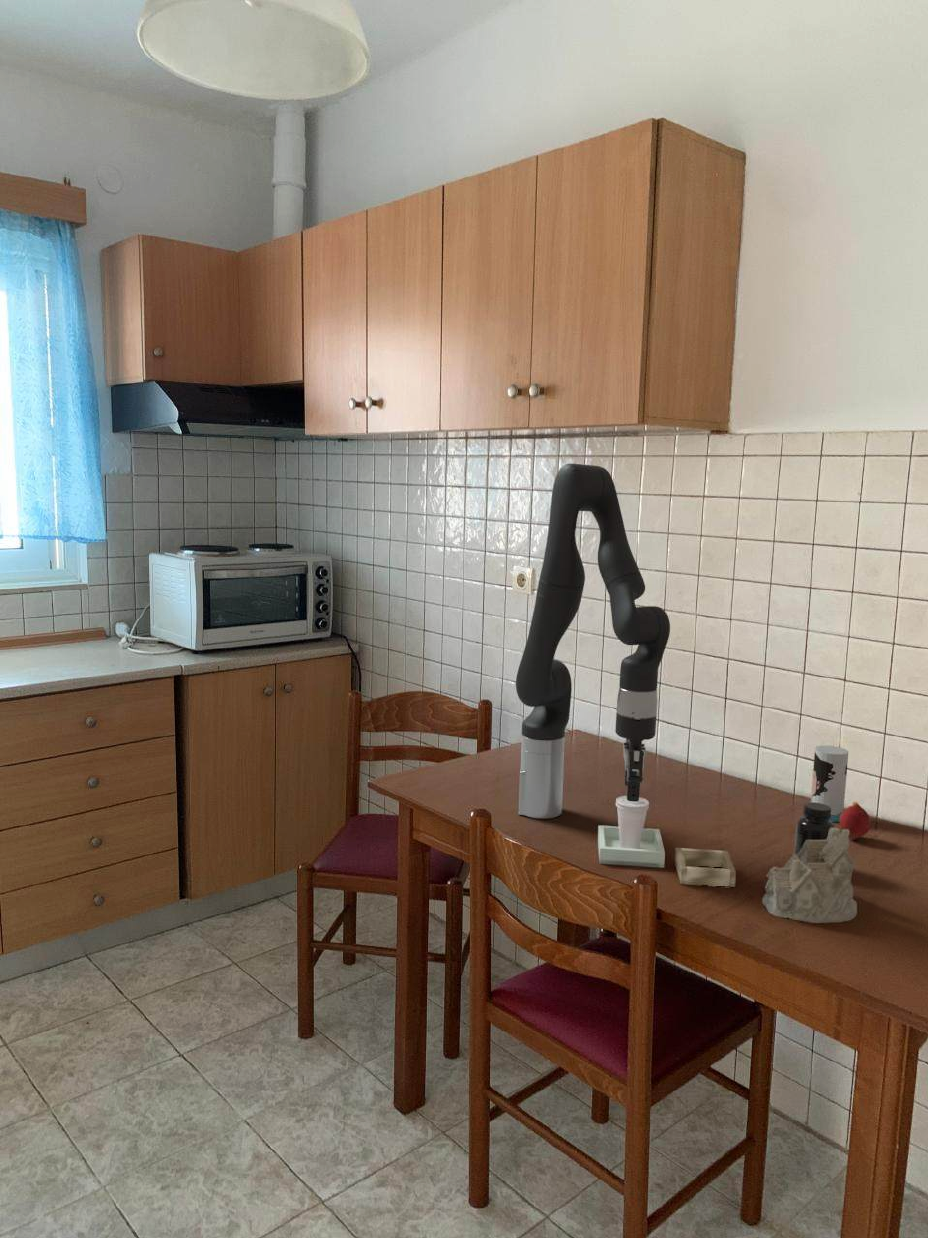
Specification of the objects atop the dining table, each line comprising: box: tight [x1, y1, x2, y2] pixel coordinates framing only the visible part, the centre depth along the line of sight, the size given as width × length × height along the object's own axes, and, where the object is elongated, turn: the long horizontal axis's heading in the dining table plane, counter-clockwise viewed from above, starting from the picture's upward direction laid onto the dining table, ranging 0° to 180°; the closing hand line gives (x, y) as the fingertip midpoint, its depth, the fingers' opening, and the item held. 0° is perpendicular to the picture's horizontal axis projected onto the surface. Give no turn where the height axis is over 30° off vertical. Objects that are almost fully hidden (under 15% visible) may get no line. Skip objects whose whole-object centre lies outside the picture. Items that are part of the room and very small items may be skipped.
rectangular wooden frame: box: [674, 847, 737, 888], centre depth 170 cm, size 10×10×3 cm
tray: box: [597, 825, 666, 869], centre depth 179 cm, size 12×12×3 cm
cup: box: [810, 745, 849, 823], centre depth 201 cm, size 7×7×15 cm
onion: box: [839, 800, 871, 840], centre depth 189 cm, size 6×6×8 cm
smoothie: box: [615, 795, 650, 849], centre depth 179 cm, size 6×6×14 cm
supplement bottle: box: [793, 802, 836, 855], centre depth 174 cm, size 7×7×12 cm
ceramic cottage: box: [761, 827, 858, 924], centre depth 159 cm, size 16×16×15 cm
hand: (631, 793), depth 178 cm, fingers open, 8 cm apart
